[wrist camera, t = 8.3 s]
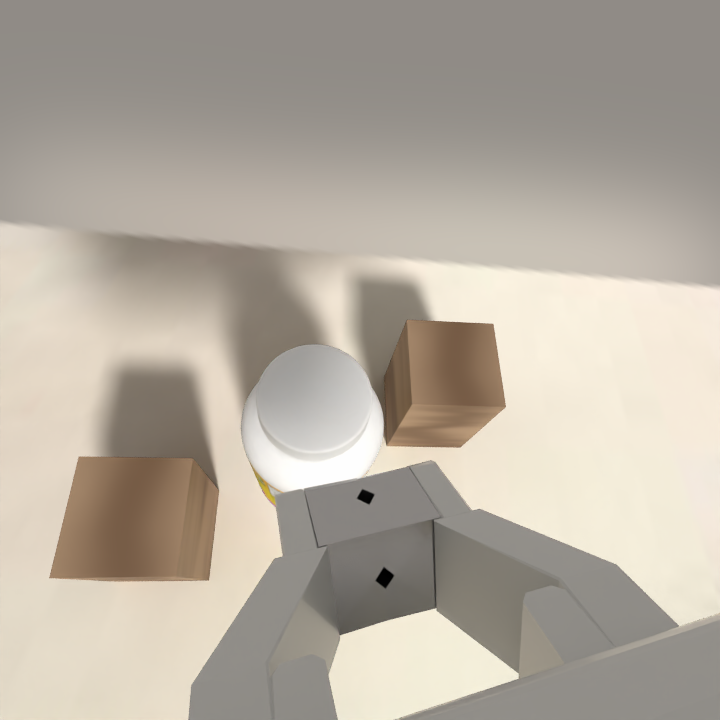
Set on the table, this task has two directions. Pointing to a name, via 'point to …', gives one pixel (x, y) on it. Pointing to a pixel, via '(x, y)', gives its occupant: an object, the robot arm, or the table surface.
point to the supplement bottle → (311, 421)
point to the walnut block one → (137, 521)
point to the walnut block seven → (442, 384)
